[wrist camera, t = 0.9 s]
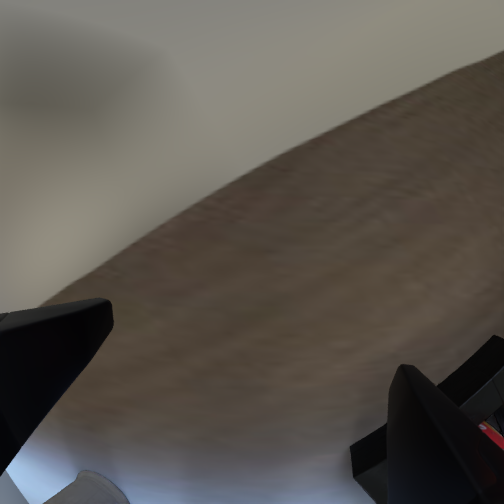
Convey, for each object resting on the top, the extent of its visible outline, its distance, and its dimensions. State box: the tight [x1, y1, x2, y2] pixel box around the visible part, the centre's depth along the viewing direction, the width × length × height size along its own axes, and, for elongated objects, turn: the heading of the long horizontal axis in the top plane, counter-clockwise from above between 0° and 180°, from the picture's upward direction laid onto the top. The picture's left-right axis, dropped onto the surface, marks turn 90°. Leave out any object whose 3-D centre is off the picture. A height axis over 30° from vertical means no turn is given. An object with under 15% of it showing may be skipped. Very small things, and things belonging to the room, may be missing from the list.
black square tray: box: [350, 335, 504, 504], centre depth 19 cm, size 16×15×5 cm
